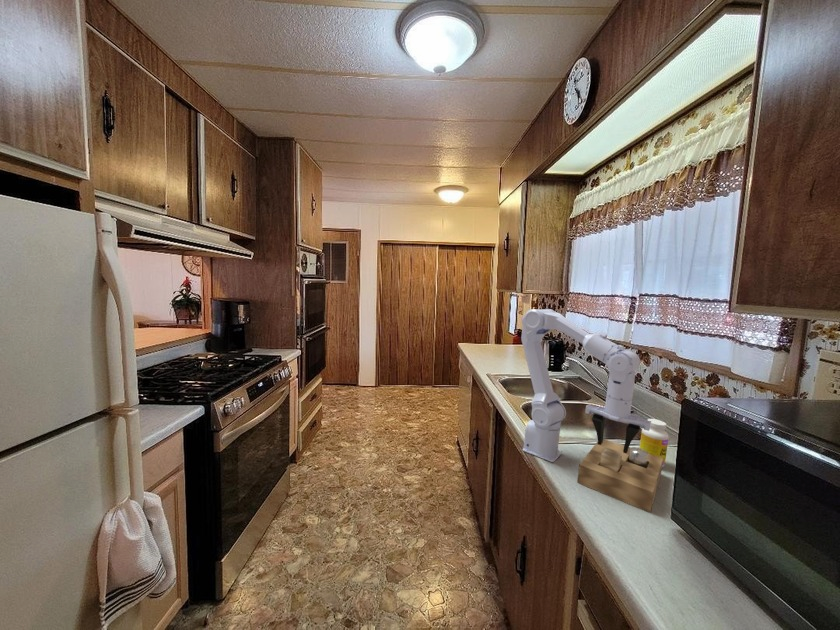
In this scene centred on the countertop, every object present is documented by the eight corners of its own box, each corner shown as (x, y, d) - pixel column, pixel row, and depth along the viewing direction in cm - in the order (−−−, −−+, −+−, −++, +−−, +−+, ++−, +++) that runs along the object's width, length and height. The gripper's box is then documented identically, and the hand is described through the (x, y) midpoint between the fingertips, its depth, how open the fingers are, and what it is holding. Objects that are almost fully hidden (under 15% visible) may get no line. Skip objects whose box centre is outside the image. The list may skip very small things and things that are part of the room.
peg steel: (626, 467, 92) (629, 450, 91) (629, 462, 95) (631, 445, 94) (644, 473, 89) (646, 456, 89) (646, 468, 92) (648, 451, 92)
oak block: (577, 482, 89) (579, 464, 88) (598, 453, 106) (600, 438, 105) (650, 512, 79) (653, 492, 78) (660, 474, 95) (663, 458, 95)
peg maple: (599, 471, 89) (601, 454, 89) (602, 465, 92) (605, 448, 92) (616, 477, 86) (618, 460, 86) (619, 471, 89) (622, 454, 89)
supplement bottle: (660, 471, 97) (667, 428, 96) (634, 461, 102) (640, 420, 101) (667, 464, 102) (673, 423, 100) (641, 454, 106) (647, 415, 105)
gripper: (584, 392, 89) (578, 442, 90) (650, 409, 79) (643, 464, 81) (591, 387, 94) (586, 434, 96) (654, 402, 85) (647, 453, 86)
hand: (612, 447), depth 89 cm, fingers open, 5 cm apart
